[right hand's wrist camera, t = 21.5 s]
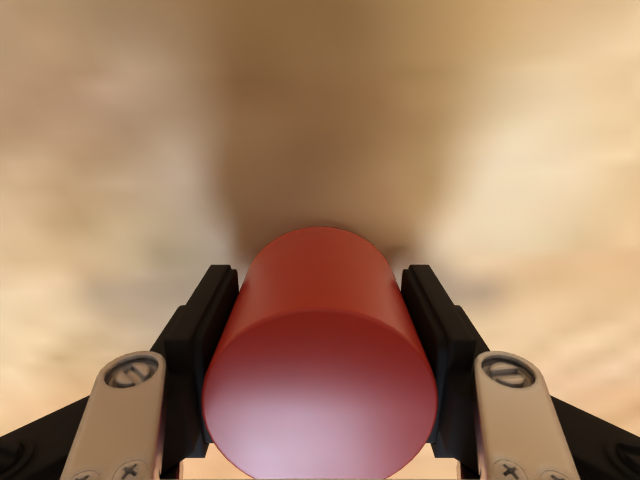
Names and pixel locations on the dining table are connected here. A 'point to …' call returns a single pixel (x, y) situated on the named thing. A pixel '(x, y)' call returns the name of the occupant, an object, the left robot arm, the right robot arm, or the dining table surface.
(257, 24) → the dining table surface
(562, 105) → the dining table surface
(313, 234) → the can
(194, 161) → the dining table surface
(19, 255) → the dining table surface
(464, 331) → the right robot arm
